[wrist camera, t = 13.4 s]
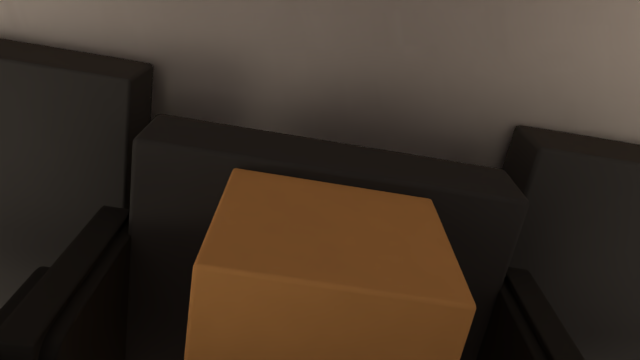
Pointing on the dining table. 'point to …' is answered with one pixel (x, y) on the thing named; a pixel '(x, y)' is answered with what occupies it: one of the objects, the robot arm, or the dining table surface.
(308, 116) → the dining table surface
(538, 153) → the mat
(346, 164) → the pad piece
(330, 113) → the dining table surface
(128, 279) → the robot arm
